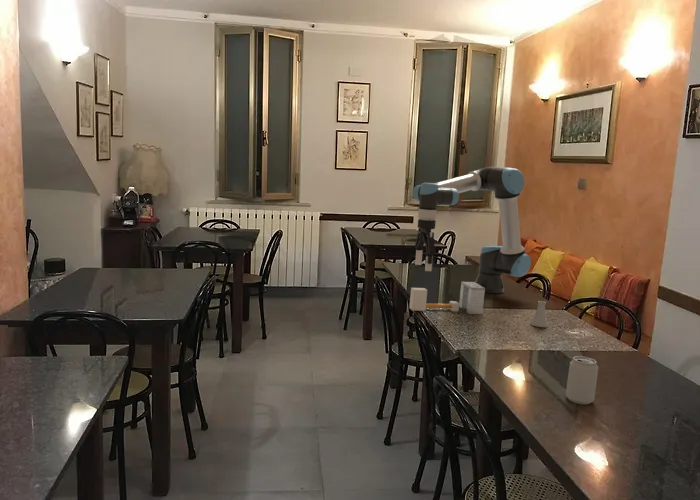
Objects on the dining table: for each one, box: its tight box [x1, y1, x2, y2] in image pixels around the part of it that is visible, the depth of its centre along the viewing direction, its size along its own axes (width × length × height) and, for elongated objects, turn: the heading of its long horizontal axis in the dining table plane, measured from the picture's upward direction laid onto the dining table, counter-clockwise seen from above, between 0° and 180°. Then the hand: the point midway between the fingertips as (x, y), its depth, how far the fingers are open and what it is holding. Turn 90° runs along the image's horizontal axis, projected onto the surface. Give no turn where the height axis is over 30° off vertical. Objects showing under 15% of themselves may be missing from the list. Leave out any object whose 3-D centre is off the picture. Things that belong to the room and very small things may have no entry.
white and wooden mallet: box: [408, 287, 460, 312], centre depth 260 cm, size 21×4×9 cm, turn 101°
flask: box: [529, 300, 549, 328], centre depth 246 cm, size 7×7×10 cm
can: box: [565, 355, 599, 405], centre depth 167 cm, size 8×8×12 cm
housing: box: [458, 281, 486, 315], centre depth 263 cm, size 6×12×12 cm, turn 11°
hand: (423, 267), depth 261 cm, fingers open, 13 cm apart
